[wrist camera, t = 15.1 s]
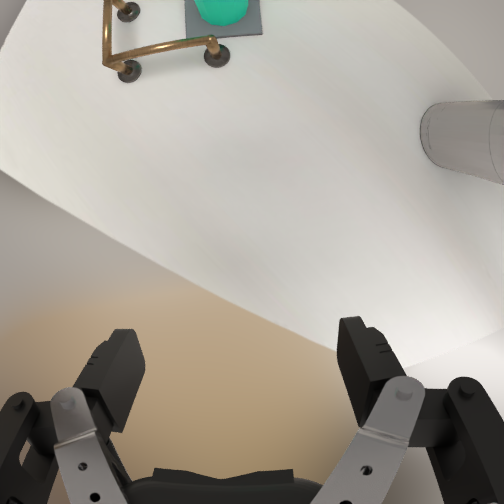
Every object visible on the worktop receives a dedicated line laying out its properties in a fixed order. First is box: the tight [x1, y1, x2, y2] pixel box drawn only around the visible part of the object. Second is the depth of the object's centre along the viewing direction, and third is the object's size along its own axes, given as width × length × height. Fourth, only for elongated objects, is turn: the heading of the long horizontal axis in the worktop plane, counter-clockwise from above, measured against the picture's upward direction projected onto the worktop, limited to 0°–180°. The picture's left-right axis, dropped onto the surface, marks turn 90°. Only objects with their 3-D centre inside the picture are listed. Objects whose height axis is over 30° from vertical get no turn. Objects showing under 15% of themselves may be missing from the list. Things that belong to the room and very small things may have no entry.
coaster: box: [185, 0, 262, 39], centre depth 29 cm, size 9×9×1 cm
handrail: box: [102, 0, 230, 83], centre depth 26 cm, size 14×12×8 cm
